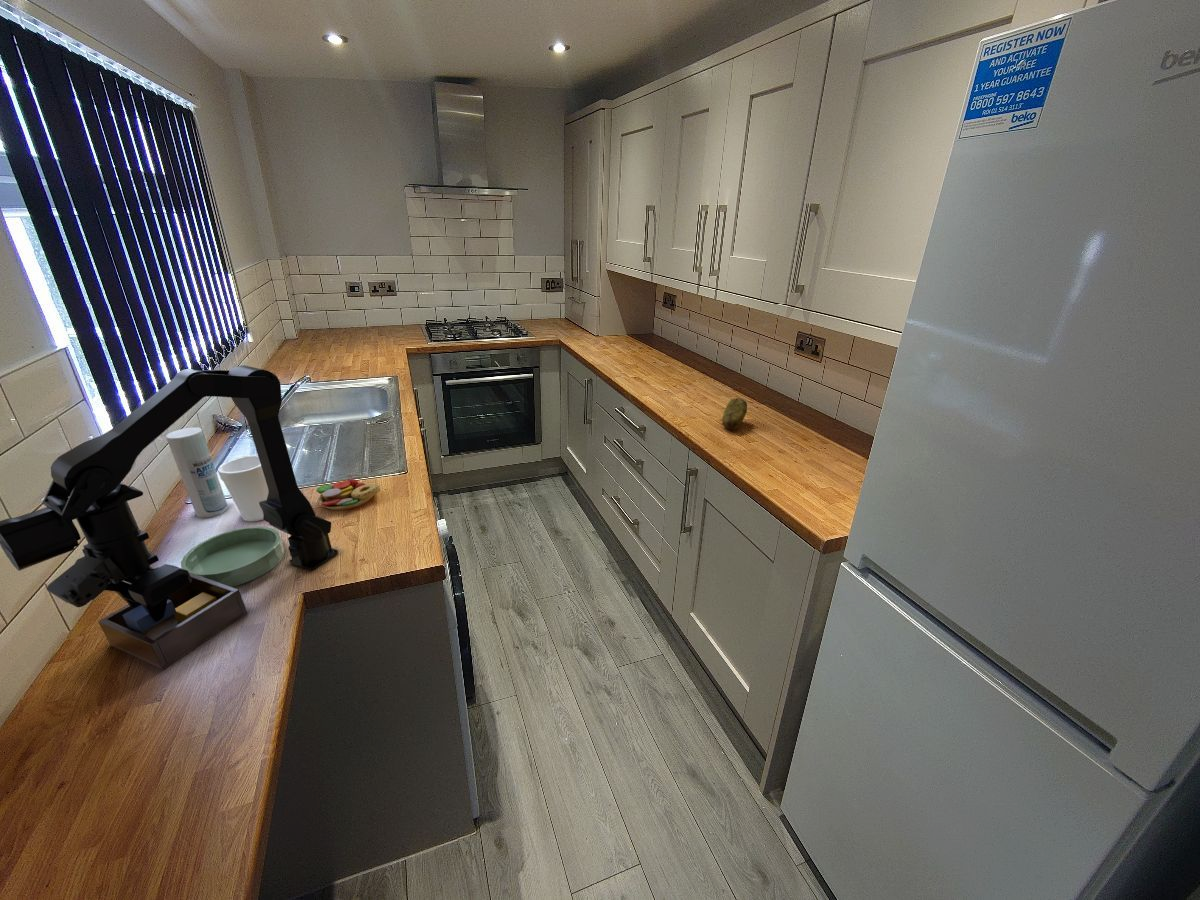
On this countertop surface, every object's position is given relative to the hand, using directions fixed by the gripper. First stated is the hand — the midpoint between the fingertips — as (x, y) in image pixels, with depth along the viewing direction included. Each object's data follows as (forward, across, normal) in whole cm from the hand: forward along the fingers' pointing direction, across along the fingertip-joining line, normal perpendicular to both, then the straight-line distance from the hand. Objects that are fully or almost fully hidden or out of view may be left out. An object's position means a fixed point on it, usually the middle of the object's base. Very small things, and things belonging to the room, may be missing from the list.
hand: (151, 616), depth 83 cm
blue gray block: (+1, 0, 0) cm, 1 cm away
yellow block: (+4, 0, +6) cm, 7 cm away
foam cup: (+5, -23, +34) cm, 41 cm away
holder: (+5, 0, +3) cm, 6 cm away
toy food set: (+5, -9, +47) cm, 48 cm away
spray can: (+5, -35, +31) cm, 47 cm away
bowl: (+5, -9, +19) cm, 22 cm away
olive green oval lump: (+5, +70, +130) cm, 148 cm away
